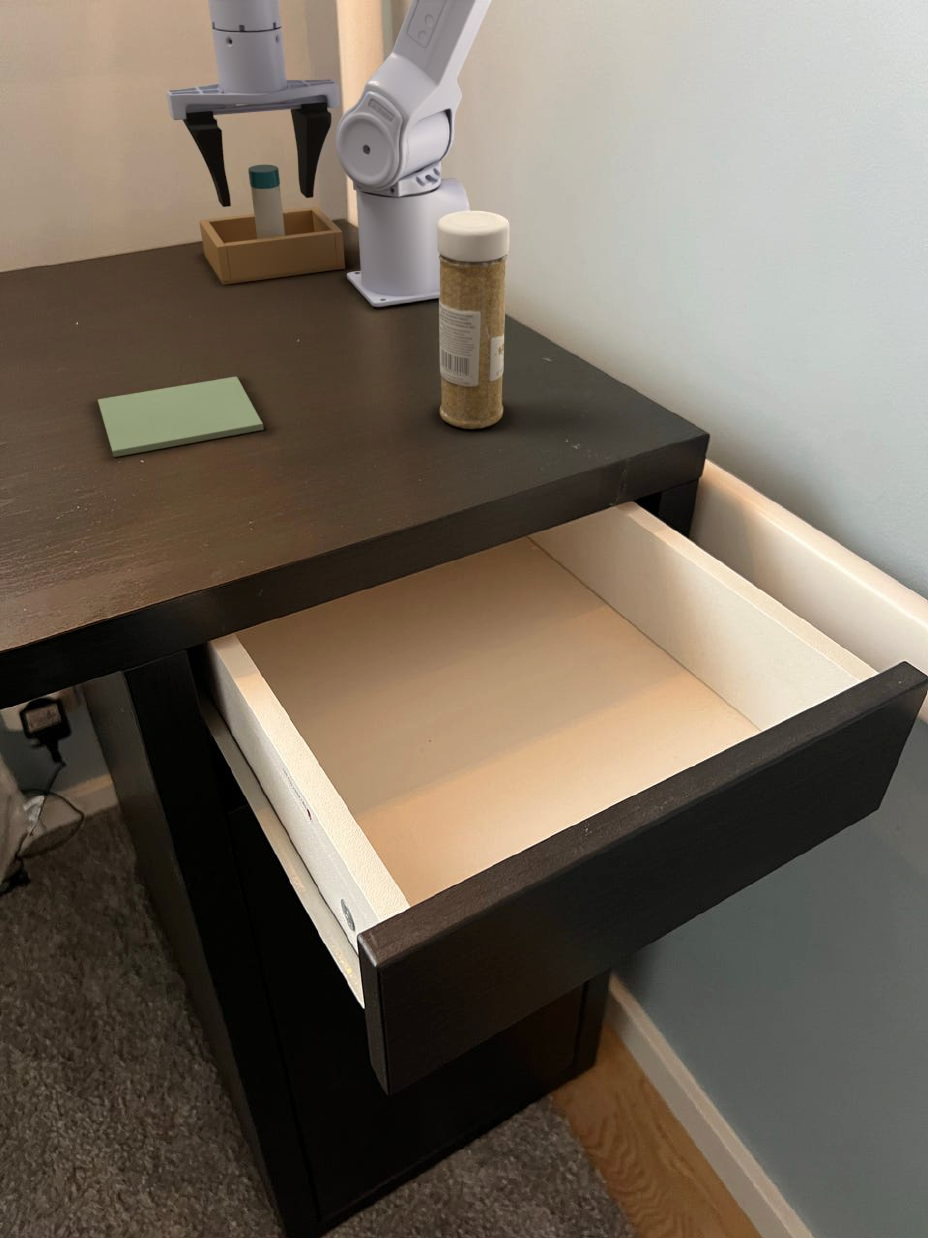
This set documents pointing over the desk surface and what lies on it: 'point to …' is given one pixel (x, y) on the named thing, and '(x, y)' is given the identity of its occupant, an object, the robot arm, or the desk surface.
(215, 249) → the box
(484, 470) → the desk surface
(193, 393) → the mat
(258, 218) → the white bottle teal cap
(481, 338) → the spice jar
